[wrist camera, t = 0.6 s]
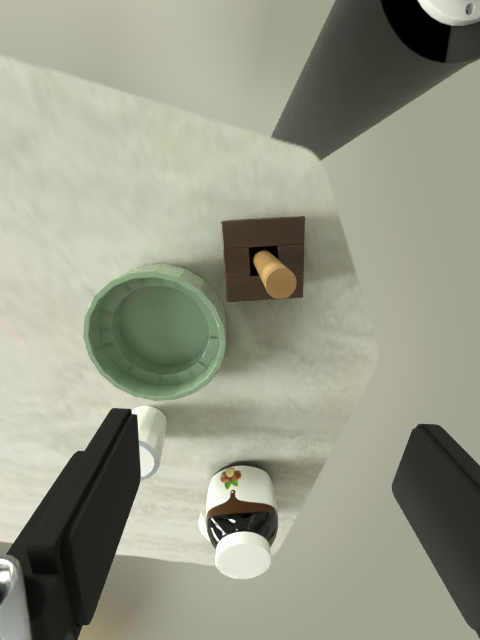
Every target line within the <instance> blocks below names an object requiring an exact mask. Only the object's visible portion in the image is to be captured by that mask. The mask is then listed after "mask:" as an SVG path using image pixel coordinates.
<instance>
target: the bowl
mask: <svg viewBox="0 0 480 640" xmlns="http://www.w3.org/2000/svg"><path fill="white" fill-rule="evenodd" d="M226 337H227V326H226V314H225V311H224V308H223V306H222V304H221V301H220V299H219V297H218V295H217V294H216V293H215V291H214V290H213V289H212V288H211V287H210V286H209V285H208V283H207V282H206V281H205V280H204V279H202V278H200V277H199V276H197V275H195V274H194V273H192V272H190V271H189V270H186V269H184V268H180V267H176V266H172V265H168V264H157V265H145V266H142V267H140V268H137V269H135V270H132V271H130V272H128V273H126V274H124V275H122V276H120V277H118V278H116V279H114V280H112V281H110V282H109V283H108V284H107V285H106V286H104V287H103V288H102V289H101V290H100V291H99V292H98V293H97V294H96V295H95V296H94V297H93V299H92V301H91V303H90V305H89V307H88V309H87V311H86V313H85V317H84V329H83V338H84V341H85V345H86V349H87V352H88V356H89V358H90V359H91V361H92V362H93V364H94V365H95V367H96V368H97V370H98V371H99V373H100V374H101V375H102V376H103V377H104V378H106V379H107V380H108V381H109V382H110V383H111V384H113V385H114V386H115V387H116V388H118V389H120V390H122V391H124V392H126V393H128V394H131V395H133V396H135V397H139V398H144V399H149V400H154V401H160V400H176V399H179V398H182V397H184V396H187V395H190V394H193V393H195V392H196V391H198V390H199V389H201V388H202V387H203V386H205V385H206V384H207V383H209V382H210V381H211V379H212V378H213V377H214V375H215V374H216V372H217V371H218V369H219V368H220V367H221V364H222V360H223V357H224V353H225V349H226Z"/></svg>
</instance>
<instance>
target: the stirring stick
mask: <svg viewBox="0 0 480 640" xmlns="http://www.w3.org/2000/svg"><path fill="white" fill-rule="evenodd" d="M250 257H251V259H252V261H253V263H254V265H255V267H256V269H257V272H258V274H259V276H260V278H261V280H262V282H263V284H264V286H265V288H266V290H267V292H268V294H269V295H270V296H272V297H273V298H276V299H284V298H287V297H289V296H290V295H292V293H293V292H294V291H295V289H296V285H297V281H296V277H295V275H294V274H293V273H292V272H291V271H290V270H289V269H288V268H287V267H286V266H285V265H284V264H282V263H281V262H280V261H279V260H278V259H277V258H276V257H275V256H273V255H272V254H271V253H270V252H269V251H268V250H267V249H266V248H264V247H253V248H252V249H251V252H250Z"/></svg>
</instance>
